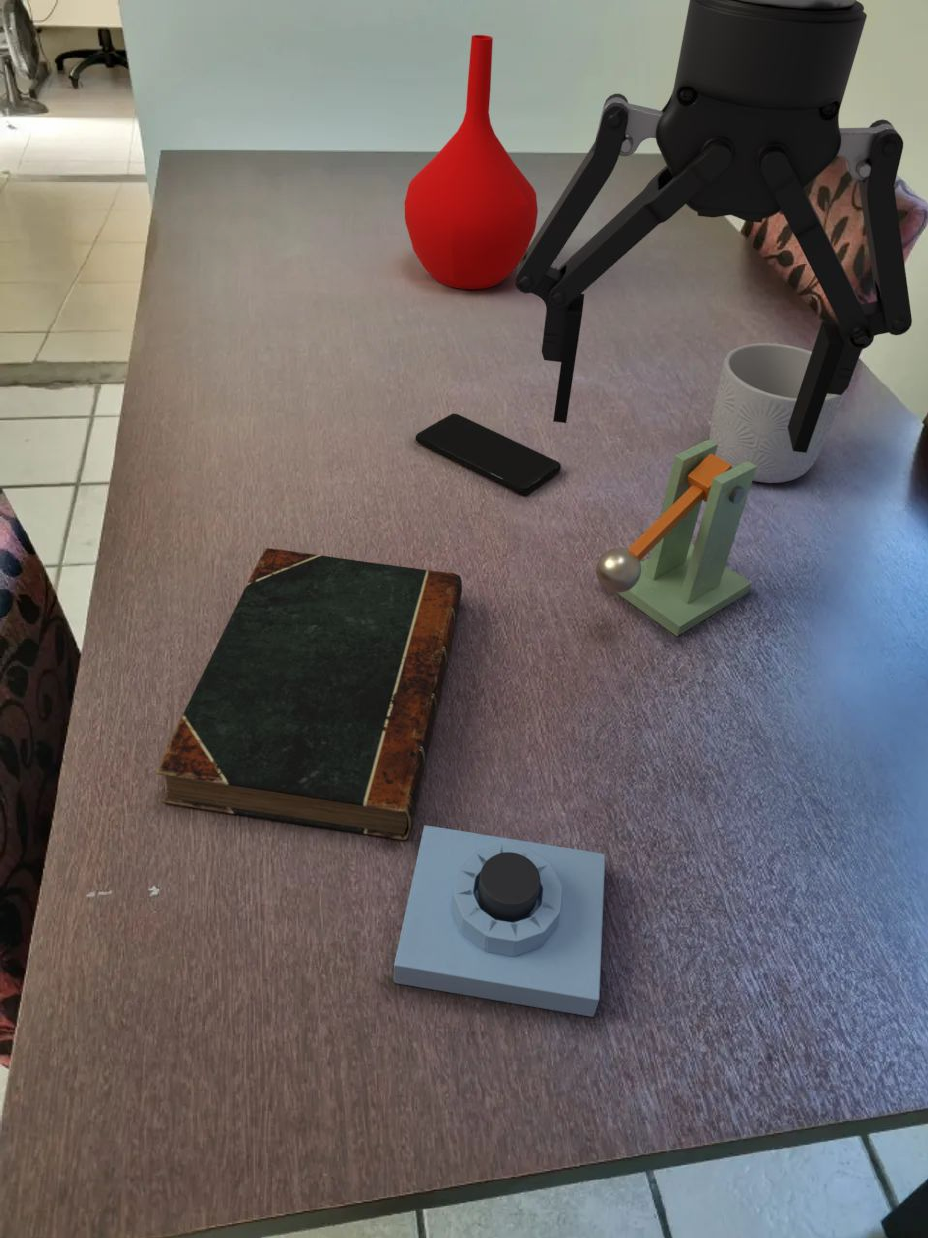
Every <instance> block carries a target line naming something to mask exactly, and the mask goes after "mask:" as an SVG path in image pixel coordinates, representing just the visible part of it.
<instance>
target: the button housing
mask: <svg viewBox="0 0 928 1238" xmlns="http://www.w3.org/2000/svg"><path fill="white" fill-rule="evenodd" d="M505 852H512V853H517V854H520V855H523V856H525V857H526V858H528V859H529V860H531V861H532V862H533V863H534V865H535V866H536V868H537V869H538V871H539V874H540V888H539V893H538V898H537V902H536V905H535V907H534V908H533V910H532V911H531V912H530V913H529V914H527V915H526V916H524V917H522V918H520V919H516V920H504V919H500V918H497V917H495V916H493V915H491V914H490V913H489V912H488V911H487V910H486V909H485V908H484V907H483V905H482V904H481V902H480V899H479V895H478V889H479V881H480V873H481V869H482V867H483V865H484V864H485V862H486V861H487V860H488V859H489V858H491V857H492V856H494V855H496V854H499V853H505ZM605 872H606V854H605V853H603V852H597V851H590V850H584V849H577V848H571V847H564V846H558V845H552V844H545V843H539V842H535V841H534V842H533V841H527V840H520V839H514V838H508V837H502V836H494V835H490V834H483V833H477V832H470V831H464V830H458V829H451V828H445V827H440V826H432V825H426V824H425V825H423V829H422V833H421V838H420V844H419V847H418V853H417V857H416V862H415V866H414V870H413V876H412V880H411V884H410V889H409V894H408V899H407V903H406V908H405V912H404V916H403V921H402V926H401V931H400V935H399V940H398V944H397V945H398V946H397V948H396V954H395V959H394V963H393V983H394V984H399V985H404V986H410V987H416V988H421V989H422V988H423V989H426V990H433V991H439V992H445V993H450V994H451V993H452V994H456V995H463V996H468V997H475V998H480V999H486V1000H490V1001H491V1000H493V1001H497V1002H503V1003H509V1004H515V1005H520V1006H521V1005H522V1006H527V1007H532V1008H539V1009H543V1010H544V1009H545V1010H551V1011H555V1012H562V1013H567V1014H572V1015H580V1016H585V1017H590V1018H591V1017H592V1018H594V1017H595V1014H596V1011H597V1008H598V1005H599V1001H600V993H601V970H602V968H601V967H602V966H601V965H602V949H603V946H602V945H603V944H602V943H603V926H604V925H603V923H604V922H603V921H604V899H605V875H606V874H605Z"/></svg>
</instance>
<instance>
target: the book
mask: <svg viewBox="0 0 928 1238" xmlns="http://www.w3.org/2000/svg"><path fill="white" fill-rule="evenodd" d="M242 591H243V592H242V593H241V595H240V597H239V600H238V601H237V604H236V605H235V607H234V608H233V609H234V610H233V612H232V614H231V616H230V618H229V619H228V622H227V624H226V625H225V627H224V629H223V632H222V634H221V636H220V638H219V640H218V642H217V644H216V646H215V648H214V650H213V653H212V654H211V656H210V658H209V660H208V663H207V664H206V667H205V669H204V670H203V672H202V674H201V676H200V679H199V681H198V683H197V685H196V687H195V689H194V690H193V693H192V695H191V697H190V699H189V701H188V703H187V705H186V707H185V710H184V711H183V713H182V715H181V717H180V720H179V721H178V723H177V725H176V727H175V730H174V731H173V733H172V735H171V737H170V740H169V742H168V744H167V746H166V749H165V751H164V753H163V756H162V757H161V760H160V763H159V764H158V768H157V770H156V775H159V776H164V778H165V780H166V787H167V790H166V792H165V794H164V796H163V798H162V800H161V802H162V803H163V804H167V805H175V806H183V807H189V808H195V809H201V810H208V811H214V812H220V813H225V814H226V813H227V814H233V815H239V816H245V817H250V818H258V819H263V820H269V821H276V822H284V823H288V824H289V823H290V824H297V825H303V826H311V827H315V828H316V827H317V828H323V829H331V830H337V831H344V832H350V833H357V834H363V835H368V836H369V835H371V836H376V837H382V838H387V839H392V840H402V841H405V840H407V839H408V838H409V835H410V832H411V829H412V823H413V819H414V816H415V815H414V814H415V811H416V805H417V801H418V796H419V792H420V787H421V782H422V778H423V773H424V769H425V764H426V759H427V755H428V750H429V746H430V741H431V738H432V737H431V736H432V732H433V729H434V728H433V727H434V723H435V718H436V714H437V710H438V705H439V700H440V696H441V692H442V686H443V682H444V677H445V674H446V673H445V672H446V668H447V663H448V660H449V655H450V650H451V644H452V640H453V637H454V636H453V635H454V631H455V627H456V623H457V617H458V613H459V608H460V603H461V599H462V593H463V581H462V577H461V576H460V575H459V574H458V573H454V572H447V571H439V570H438V571H437V570H431V569H430V570H429V569H423V568H416V567H407V566H401V565H392V564H386V563H378V562H370V561H364V560H356V559H349V558H343V557H335V556H328V555H320V554H315V553H307V552H300V551H294V550H293V551H292V550H286V549H280V548H279V549H278V548H271V547H267V548H264V549H263V551H262V553H261V555H260V558H259V559H258V561H257V563H256V565H255V567H254V569H253V571H252V573H251V575H250V577H249V579H248V581H247V583H246V585H245V587H244V589H243V590H242Z"/></svg>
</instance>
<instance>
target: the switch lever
mask: <svg viewBox="0 0 928 1238" xmlns="http://www.w3.org/2000/svg"><path fill="white" fill-rule="evenodd" d="M730 469H732V466H731V465H730V464H729V463H727V462H725V461H723V460H722V459H720V458H718V457H716V456H715V455H713V454H711V453H710V454H709V455H708V456H707V457H706V458H705V459H704V460H703V461H702V462H701V463H700V464H699V465H698V466H697V467H696V468H695V469H694V470H693V471H692V472H691V473H690V474H689V475H688V480H689V486H690V488H689V489H688V490H687V491H686V492H685V493H684V494H683V495H682V496H681V497H680V498H679V499H678V500H677V501H676V502H675V503H674V504H673V505H672V506H671V507H670V508H669V509H668V510H667V511H666V512H665V513H664V514H663V515H662V516H661V517H660V516H659V518H658V519H656V520H655V522H654V523H652V524H651V526H650V527H648V528H647V530H645V531H644V532H643V533H642V534H641V535H640V536H639V537H638V538H637V539H636V540H635V541H634V542H633V543H632V544H631V545H630V546H629V547H628V548H624V547H613V548H610V549H608V550H606V551H605V552H603V553H602V554H601V555H600V557H599V558H598V560H597V563H596V566H595V574H596V579H597V581H598V583H599V584H600V585H601V586H602V587H603V588H604V589H605V590H607V591H609V592H612V593H616V592H617V593H616V594H618V593H619V592H625V591H628V590H630V589H631V588H633V587H634V586H635V585H636V584H637V582H638V581H639V579H640V576H641V564H640V563H641V560H642V559H644V558H645V557H646V556H647V555H648V554H649V553H650V552H651V551H652V548H654V547H655V546H656V545H657V544H658V543H659V542H660V541H661V540H662V539H663V538H664V537H665V536H666V535H667V534H668V533H669V532H670V531H671V530H672V529H673V528H674V527H675V526H676V525H677V524H678V523H679V522H680V521H681V520H682V519H683V518H684V517H685V516H686V515H687V514H688V513H689V512H690V511H691V510H692V509H693V508H694V507H695V506H696V505H697V504H698V503H699V502H700V501H701V500H702V502H703V501H704V502H705V503H706V502H707V499H708V495H709V492H710V488H711V485H712V481H713V478H714V477H716V476H718V475H720V474H722V473H724V472H726V471H728V470H730Z"/></svg>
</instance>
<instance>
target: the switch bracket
mask: <svg viewBox="0 0 928 1238" xmlns="http://www.w3.org/2000/svg"><path fill="white" fill-rule="evenodd" d="M717 446H718V444H717V443H715V442H713V441H711V440H710V439H706V440H704V441H702V442H700V443H698V444H696V445H693V446H691V447H689V448H687V449H684V450H683V451H680V452H679V453H677V454H675V455H674V457H673V461H672V465H671V470H670V473H669V478H668V482H667V486H666V488H665V489H666V490H665V494H664V498H663V502H662V507H661V509H660V514H659V518H660V517H661V516H662V515H663V514H664V513H665V512H666V511H667V510H668V509H669V508H670V507H671V506H672V505H673V504H674V503H675V502H676V501H677V500H678V499H679V498H680V497H681V496H682V495H683V494H684V493H685V492H686V491H687V490H688V489H689V488H690V486H689V480H688V475H689V474H690V473H691V472H692V471H693V470H694V469H695V468H696V467H697V466H698V465H699V464H700V463H701V462H702V461H703V460H704V459H705V458H706V457H707V456H708V455H709V454H710V453H711V454H713V455H715V454H716V450H717ZM756 468H757V466H756V465H754V464H752V463H750V462H749V461H746V462H744V463H742V464H740V465H738V466H736V467H734V468H732V469H730V470H728V471H726V472H724V473H722V474H720V475H718V476H716V477H714V478H713V481H712V485H711V488H710V492H709V495H708V499H707V502H705V506H704V509H703V514H702V517H701V521H700V524H699V527H698V531H697V535H696V538H695V542H694V543H692V540H693V536H694V532H695V529H696V526H697V523H698V522H697V521H698V519H699V514H700V512H701V511H700V510H701V507H702V504H703V500H701V501H700V502H699V503H698V504H697V505H696V506H695V507H694V508H693V509H692V510H691V511H690V512H689V513H688V514H687V515H686V516H685V517H684V518H683V519H682V520H681V521H680V522H679V523H678V524H677V525H676V526H675V527H674V528H673V529H672V530H671V531H670V532H669V533H668V534H667V535H666V536H665V537H664V538H663V539H662V540H661V541H660V542H659V543H658V544H657V545H656V546H655V547H654V548H652V549H651V550H650V555H649V557H648V558H646V559H644V560H643V561H640V564H641V576H640V579H639V581H638V582H637V584H636V585H635V586H634V587H633V588H631V589H630V590H628V591H625V592H619V593H617V592H615V593H616V594H618V595H619V596H621V597H622V598H623V599H625V600H626V601H627V602H629V603H630V604H632V605H633V606H634V607H635V608H637V609H638V610H640V611H641V612H642V613H644V614H645V615H646V616H648V617H649V618H651V619H652V620H653V621H655V622H656V623H658V624H659V625H660V626H661V627H663V628H664V629H666V631H669V632H670V633H671V634H672V635H674V636H675V637H679V636H680V635H682V634H684V633H685V632H687V631H688V630H690V629H692V628H694V627H695V626H697V625H699V624H700V623H702V622H703V621H705V620H707V619H709V618H710V617H711V616H713V615H715V614H716V613H718V612H719V611H721V610H723V609H724V608H726V607H727V606H730V605H732V603H735V602H736V601H738V600H739V599H741V598H743V597H744V596H745V595H748V594H749V593H750V591H751V590H750V589H751V587H752V585H753V582H752V581H751V580H749V579H747V578H746V577H744V576H742V575H741V574H739V573H738V572H736V571H735V570H733V569H731V568H730V567H729V566H727V562H728V560H729V557H730V554H731V550H732V546H733V543H734V541H735V537H736V534H737V530H738V528H739V525H740V521H741V518H742V515H743V512H744V509H745V506H746V502H747V499H748V497H749V492H750V490H751V486H752V483H753V481H752V480H753V477H754V474H755V471H756Z"/></svg>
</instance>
